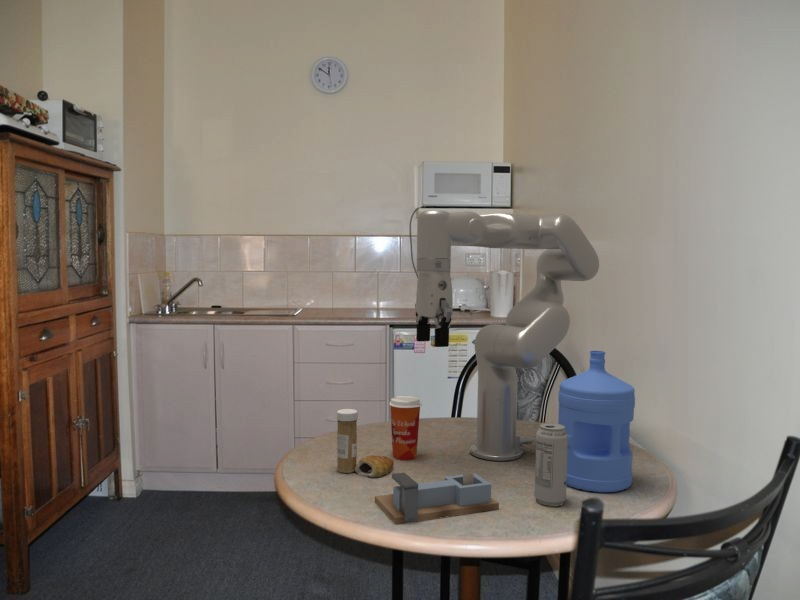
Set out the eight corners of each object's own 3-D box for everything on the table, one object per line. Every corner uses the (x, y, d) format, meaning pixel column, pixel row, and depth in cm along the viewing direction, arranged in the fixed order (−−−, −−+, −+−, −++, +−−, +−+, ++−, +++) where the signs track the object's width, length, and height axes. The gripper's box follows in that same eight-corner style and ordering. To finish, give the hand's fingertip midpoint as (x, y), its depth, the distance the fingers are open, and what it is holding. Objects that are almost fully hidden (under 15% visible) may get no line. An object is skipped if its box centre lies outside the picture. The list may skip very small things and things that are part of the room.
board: (471, 489, 131) (471, 460, 130) (498, 509, 121) (499, 477, 120) (374, 502, 123) (375, 471, 123) (395, 524, 113) (395, 491, 112)
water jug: (541, 473, 142) (545, 348, 140) (599, 466, 147) (603, 345, 146) (585, 497, 127) (590, 358, 126) (648, 489, 133) (653, 355, 131)
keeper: (403, 507, 120) (404, 472, 120) (417, 521, 114) (418, 483, 114) (391, 509, 120) (391, 473, 119) (404, 523, 113) (405, 485, 113)
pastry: (377, 463, 147) (377, 447, 147) (401, 469, 144) (401, 452, 143) (352, 474, 140) (352, 457, 139) (377, 481, 136) (377, 463, 136)
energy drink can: (571, 505, 123) (574, 429, 122) (543, 508, 121) (546, 430, 120) (555, 494, 129) (557, 421, 128) (528, 497, 127) (530, 423, 126)
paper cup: (383, 459, 150) (384, 400, 149) (395, 450, 157) (396, 394, 156) (414, 463, 147) (415, 403, 146) (425, 454, 154) (426, 397, 154)
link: (474, 490, 127) (474, 473, 127) (490, 502, 121) (491, 484, 121) (389, 501, 120) (389, 483, 120) (402, 514, 114) (403, 495, 114)
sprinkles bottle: (360, 471, 141) (361, 411, 140) (342, 475, 139) (343, 413, 138) (350, 465, 145) (351, 407, 144) (332, 469, 142) (333, 409, 142)
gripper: (466, 267, 134) (465, 348, 135) (432, 266, 150) (431, 338, 151) (434, 267, 132) (433, 349, 133) (403, 266, 148) (402, 339, 149)
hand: (432, 343), depth 142 cm, fingers open, 9 cm apart
